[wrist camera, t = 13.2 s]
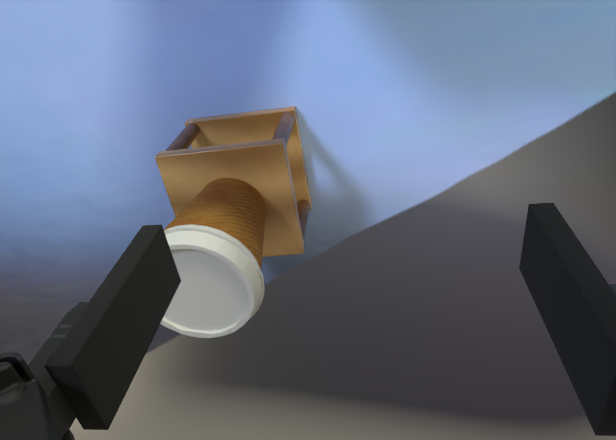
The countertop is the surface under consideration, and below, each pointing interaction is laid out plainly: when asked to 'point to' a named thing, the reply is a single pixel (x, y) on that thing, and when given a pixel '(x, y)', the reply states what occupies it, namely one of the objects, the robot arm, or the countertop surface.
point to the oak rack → (245, 168)
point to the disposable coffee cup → (217, 260)
